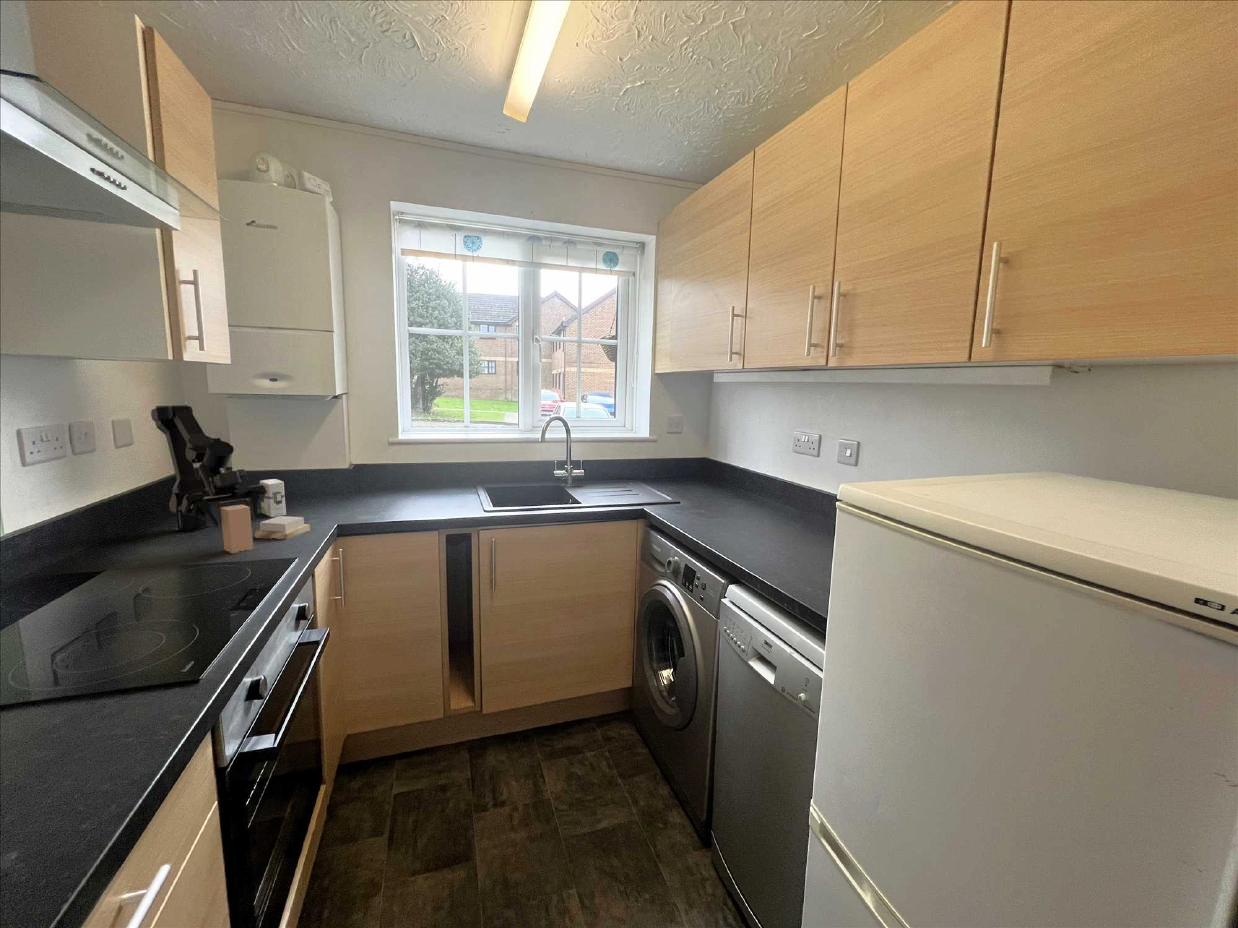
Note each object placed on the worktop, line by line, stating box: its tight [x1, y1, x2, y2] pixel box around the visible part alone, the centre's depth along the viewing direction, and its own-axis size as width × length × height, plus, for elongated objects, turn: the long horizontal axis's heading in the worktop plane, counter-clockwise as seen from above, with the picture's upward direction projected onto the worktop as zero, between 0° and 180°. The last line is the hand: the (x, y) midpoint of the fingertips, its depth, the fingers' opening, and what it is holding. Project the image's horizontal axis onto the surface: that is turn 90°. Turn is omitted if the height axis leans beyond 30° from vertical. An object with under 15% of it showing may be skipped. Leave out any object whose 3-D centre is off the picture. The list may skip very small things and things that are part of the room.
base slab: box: [254, 523, 311, 540], centre depth 157 cm, size 10×10×2 cm
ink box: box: [259, 478, 287, 518], centre depth 178 cm, size 9×5×12 cm, turn 53°
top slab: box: [259, 515, 305, 532], centre depth 157 cm, size 8×8×2 cm
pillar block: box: [220, 504, 254, 554], centre depth 141 cm, size 5×5×12 cm
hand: (237, 522), depth 140 cm, fingers open, 9 cm apart
